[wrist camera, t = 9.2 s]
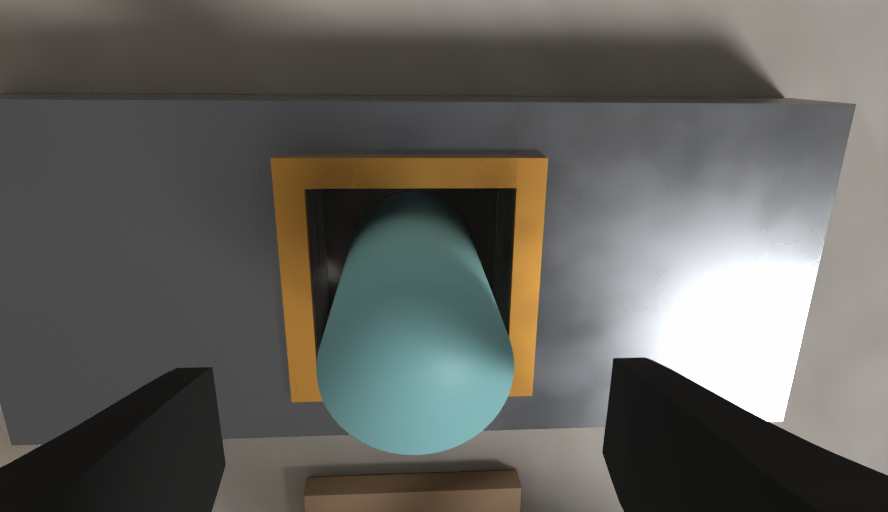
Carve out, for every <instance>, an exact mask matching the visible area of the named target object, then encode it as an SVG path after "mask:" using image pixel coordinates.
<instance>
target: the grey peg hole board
mask: <svg viewBox="0 0 888 512" xmlns="http://www.w3.org/2000/svg"><path fill="white" fill-rule="evenodd" d="M855 106H856V104H849V103H838V102H827V101H815V100H804V99H793V98H726V97H567V96H409V95H250V94H91V93H0V403H1V407H2V411H3V414H4V418H5V422H6V425H7V429H8V433H9V436H10V440H11V444H12V445H31V444H45V443H47V442H49V441H50V440H52V439H54V438H56V437H58V436H59V435H61V434H63V433H65V432H67V431H68V430H70V429H72V428H74V427H76V426H77V425H79V424H81V423H82V422H84V421H86V420H87V419H89V418H91V417H92V416H94V415H96V414H97V413H99V412H101V411H102V410H104V409H106V408H107V407H109V406H111V405H112V404H114V403H116V402H117V401H119V400H121V399H122V398H124V397H126V396H127V395H129V394H131V393H132V392H134V391H136V390H137V389H139V388H141V387H142V386H144V385H146V384H147V383H149V382H151V381H153V380H154V379H156V378H158V377H160V376H162V375H163V374H165V373H167V372H169V371H172V370H174V369H176V368H195V367H213V374H214V382H215V389H216V397H217V404H218V412H219V419H220V427H221V434H222V439H226V438H258V437H291V436H323V435H350V434H349V433H347V432H346V431H345V430H344V429H343V428H342V427H341V426H340V425H339V424H338V423H337V422H336V421H335V420H334V418H333V417H332V416H331V414H330V413H329V411H328V410H327V408H326V406H325V404H324V402H323V400H322V397H321V394H320V391H319V388H318V382H317V375H316V363H317V357H318V351H319V347H320V344H321V341H322V338H323V334H324V331H325V328H326V324H327V321H328V318H329V314H330V300H329V282H328V265H327V248H326V231H325V214H324V197H323V189H403V188H497V201H496V227H495V252H494V278H493V297H494V299H495V302H496V304H497V307H498V310H499V312H500V315H501V318H502V320H503V323H504V326H505V328H506V331H507V333H508V336H509V339H510V342H511V345H512V349H513V355H514V376H513V382H512V386H511V390H510V393H509V395H508V397H507V400H506V402H505V404H504V405H503V407H502V409H501V410H500V412H499V413H498V415H497V416H496V417H495V418H494V420H493V421H492V422H491V423H490V424H489V425H488V426H487V427H486V428H485V429H484V430H483V431H486V430H518V429H550V428H583V427H605V426H606V418H607V409H608V400H609V391H610V383H611V374H612V365H613V358H643V357H646V358H649V359H651V360H653V361H656V362H658V363H660V364H662V365H664V366H666V367H668V368H670V369H672V370H674V371H675V372H677V373H679V374H681V375H683V376H685V377H686V378H688V379H690V380H692V381H694V382H696V383H697V384H699V385H701V386H703V387H705V388H706V389H708V390H710V391H712V392H714V393H715V394H717V395H719V396H721V397H723V398H724V399H726V400H728V401H730V402H732V403H734V404H735V405H737V406H739V407H741V408H743V409H745V410H747V411H748V412H750V413H752V414H754V415H756V416H758V417H760V418H762V419H764V420H766V421H768V422H778V421H783V419H784V415H785V410H786V406H787V401H788V397H789V393H790V388H791V384H792V380H793V375H794V371H795V367H796V362H797V358H798V354H799V349H800V345H801V341H802V336H803V332H804V328H805V323H806V319H807V315H808V310H809V306H810V302H811V297H812V293H813V289H814V284H815V280H816V275H817V271H818V267H819V262H820V258H821V254H822V249H823V245H824V241H825V236H826V232H827V228H828V223H829V219H830V215H831V210H832V206H833V202H834V197H835V193H836V189H837V184H838V180H839V176H840V171H841V167H842V163H843V158H844V154H845V149H846V145H847V141H848V136H849V132H850V128H851V123H852V119H853V115H854V110H855Z"/></svg>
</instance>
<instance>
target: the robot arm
mask: <svg viewBox="0 0 888 512" xmlns="http://www.w3.org/2000/svg"><path fill="white" fill-rule="evenodd" d="M603 455H604V458H605V461H606V464H607V467H608V471H609V474H610V477H611V480H612V482H613V485H614V488H615V491H616V493H617V496H618V499H619V502H620V504H621V506H622V508H623V510H624V512H888V475H885V474H883V473H880V472H878V471H875V470H873V469H871V468H868V467H866V466H863V465H861V464H859V463H856V462H854V461H851V460H849V459H847V458H844V457H842V456H839V455H837V454H835V453H832V452H830V451H828V450H826V449H823V448H821V447H819V446H817V445H815V444H812V443H810V442H808V441H806V440H804V439H802V438H800V437H798V436H796V435H794V434H792V433H790V432H788V431H786V430H784V429H782V428H780V427H778V426H776V425H774V424H771V423H770V422H768V421H766V420H764V419H762V418H760V417H758V416H756V415H754V414H752V413H750V412H748V411H747V410H745V409H743V408H741V407H739V406H737V405H735V404H734V403H732V402H730V401H728V400H726V399H724V398H723V397H721V396H719V395H717V394H715V393H714V392H712V391H710V390H708V389H706V388H705V387H703V386H701V385H699V384H697V383H696V382H694V381H692V380H690V379H688V378H686V377H685V376H683V375H681V374H679V373H677V372H675V371H674V370H672V369H670V368H668V367H666V366H664V365H662V364H660V363H658V362H656V361H653V360H651V359H649V358H646V357H643V358H613V365H612V374H611V383H610V391H609V400H608V409H607V418H606V426H605V435H604V444H603ZM224 468H225V457H224V449H223V442H222V434H221V427H220V419H219V412H218V404H217V397H216V389H215V382H214V374H213V367H195V368H176V369H174V370H172V371H169V372H167V373H165V374H163V375H162V376H160V377H158V378H156V379H154V380H153V381H151V382H149V383H147V384H146V385H144V386H142V387H141V388H139V389H137V390H136V391H134V392H132V393H131V394H129V395H127V396H126V397H124V398H122V399H121V400H119V401H117V402H116V403H114V404H112V405H111V406H109V407H107V408H106V409H104V410H102V411H101V412H99V413H97V414H96V415H94V416H92V417H91V418H89V419H87V420H86V421H84V422H82V423H81V424H79V425H77V426H76V427H74V428H72V429H70V430H68V431H67V432H65V433H63V434H61V435H59V436H58V437H56V438H54V439H52V440H50V441H49V442H47V443H45V444H43V445H41V446H40V447H38V448H36V449H34V450H32V451H31V452H29V453H27V454H25V455H23V456H22V457H20V458H18V459H16V460H14V461H13V462H11V463H9V464H7V465H5V466H3V467H1V468H0V512H211V511H212V508H213V505H214V502H215V499H216V496H217V492H218V489H219V485H220V482H221V478H222V475H223V472H224Z"/></svg>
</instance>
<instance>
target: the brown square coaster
mask: <svg viewBox="0 0 888 512" xmlns="http://www.w3.org/2000/svg"><path fill="white" fill-rule="evenodd" d="M521 489H522V488H521V484H520V481H519V477H518V473H517V470H504V471H475V472H447V473H419V474H390V475H362V476H334V477H308V479H307V484H306V488H305V492H304V508H305V512H520V504H521Z"/></svg>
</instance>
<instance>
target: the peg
mask: <svg viewBox="0 0 888 512" xmlns="http://www.w3.org/2000/svg"><path fill="white" fill-rule="evenodd" d="M316 375H317V382H318V388H319V391H320V394H321V397H322V400H323V402H324V404H325V406H326V408H327V410H328V411H329V413H330V414H331V416H332V417H333V418H334V420H335V421H336V422H337V423H338V424H339V425H340V426H341V427H342V428H343V429H344V430H345V431H346V432H347V433H349V434H350V435H351V436H353V437H354V438H356V439H357V440H359V441H361V442H363V443H364V444H366V445H368V446H371V447H373V448H376V449H379V450H382V451H386V452H390V453H394V454H402V455H424V454H432V453H437V452H442V451H445V450H448V449H451V448H454V447H456V446H458V445H461V444H463V443H465V442H466V441H468V440H470V439H472V438H473V437H475V436H476V435H477V434H479V433H480V432H481V431H483V430H484V429H485V428H486V427H487V426H488V425H489V424H490V423H491V422H492V421H493V420H494V418H495V417H496V416H497V415H498V413H499V412H500V410H501V409H502V407H503V405H504V404H505V402H506V400H507V397H508V395H509V393H510V390H511V386H512V382H513V376H514V355H513V349H512V345H511V342H510V339H509V336H508V333H507V331H506V328H505V326H504V323H503V320H502V318H501V315H500V312H499V310H498V307H497V304H496V302H495V299H494V297H493V294H492V291H491V289H490V286H489V283H488V281H487V278H486V276H485V273H484V270H483V268H482V265H481V262H480V260H479V257H478V254H477V252H476V249H475V247H474V244H473V241H472V239H471V236H470V233H469V231H468V228H467V226H466V224H465V222H464V220H463V219H462V217H461V216H460V214H459V213H458V212H457V211H456V210H455V209H454V208H453V207H452V206H451V205H449V204H448V203H446V202H445V201H443V200H442V199H440V198H438V197H436V196H433V195H430V194H426V193H421V192H403V193H398V194H394V195H391V196H388V197H386V198H384V199H382V200H380V201H379V202H377V203H376V204H374V205H373V206H372V207H371V208H370V209H368V210H367V212H366V213H365V214H364V215H363V216H362V218H361V219H360V221H359V223H358V225H357V227H356V229H355V232H354V235H353V239H352V242H351V245H350V249H349V252H348V255H347V258H346V262H345V265H344V268H343V272H342V275H341V278H340V281H339V285H338V288H337V291H336V295H335V298H334V301H333V305H332V308H331V311H330V314H329V318H328V321H327V324H326V328H325V331H324V334H323V338H322V341H321V344H320V347H319V351H318V357H317V363H316Z"/></svg>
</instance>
